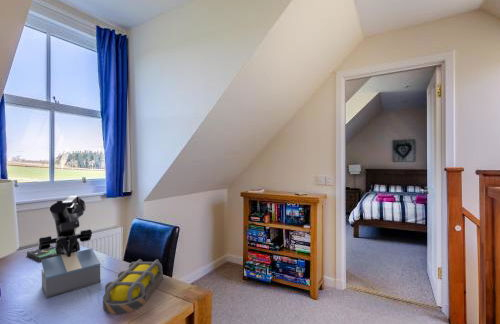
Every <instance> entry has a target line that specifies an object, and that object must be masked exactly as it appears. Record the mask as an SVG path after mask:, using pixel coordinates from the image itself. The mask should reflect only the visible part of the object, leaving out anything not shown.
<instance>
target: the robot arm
mask: <svg viewBox="0 0 500 324" xmlns="http://www.w3.org/2000/svg"><path fill="white" fill-rule="evenodd" d="M49 211H50V213H51V216H52V219H53V220H54V224H55V230H56V237H55V238H52V236H51V235H48V236H47V235H46V236H41V237H40V238H38V242H37V243H38V245H37V246H38V247H37V248H38V249H39V250H44V249H48V248H49V247H51V245H53V244H55V246H54V247H55V248H54V249H56V254H61V255H64V254H66V255H67V256H68V257H70V256H71V253H73V252H79V251H81V245H80V242H82V243H83V242H87V241H88V242H89V241H90V240H91V238H92V235H93V231H92V230H91V229H89V228H87V229H83V230H80V233H78V234H77V232H76V231H77V229H78V228H79V227H80V221H79V218H80V217H82V216H83V215H84V213H85V211H86V203H85V200H83V199H82V198H80V195H68V196H67V198H66V199H65V200H64V201H63V200H56V202H55V203H53V204H51V206H50V207H49Z"/></svg>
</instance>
